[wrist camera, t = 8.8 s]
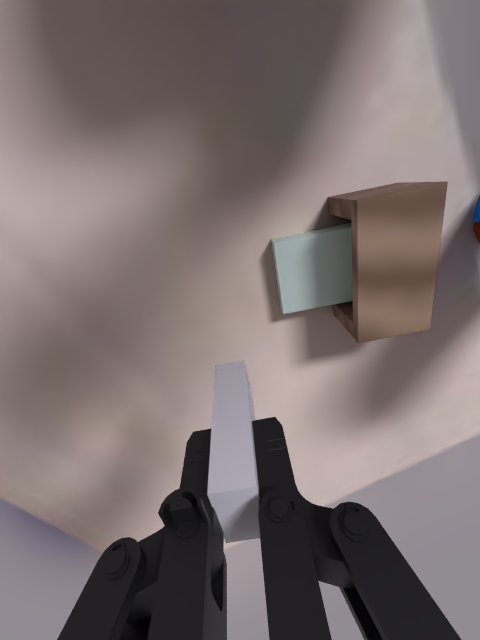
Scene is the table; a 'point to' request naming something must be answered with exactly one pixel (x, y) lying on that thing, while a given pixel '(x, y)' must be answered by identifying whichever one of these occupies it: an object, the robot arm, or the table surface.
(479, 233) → the thermos
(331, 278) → the board
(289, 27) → the table surface
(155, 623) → the robot arm
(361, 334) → the tan notched block
